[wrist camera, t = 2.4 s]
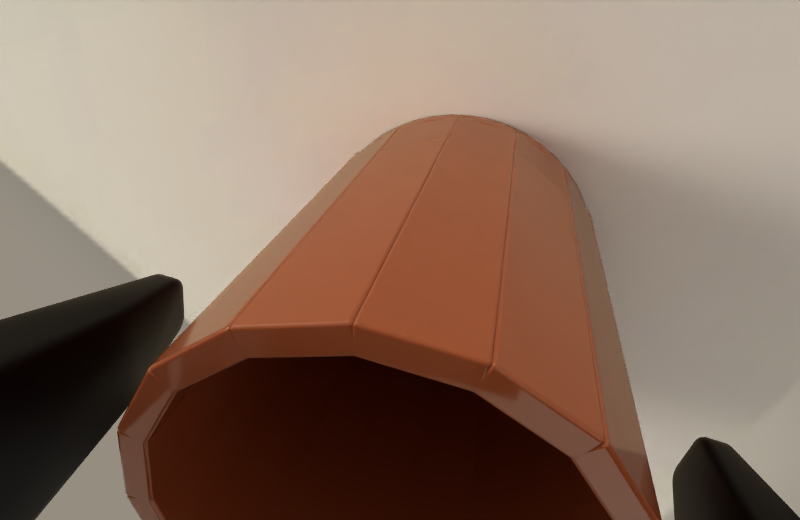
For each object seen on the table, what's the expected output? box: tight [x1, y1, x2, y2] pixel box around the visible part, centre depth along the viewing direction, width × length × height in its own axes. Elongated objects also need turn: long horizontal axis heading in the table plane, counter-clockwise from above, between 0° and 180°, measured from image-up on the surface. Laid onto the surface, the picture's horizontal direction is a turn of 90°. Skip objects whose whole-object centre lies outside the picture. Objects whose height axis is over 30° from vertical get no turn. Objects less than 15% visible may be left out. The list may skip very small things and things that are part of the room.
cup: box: [117, 115, 662, 520], centre depth 10 cm, size 6×6×8 cm
